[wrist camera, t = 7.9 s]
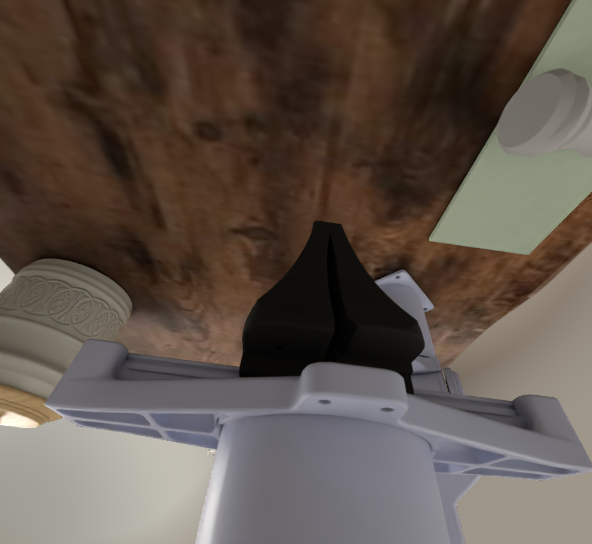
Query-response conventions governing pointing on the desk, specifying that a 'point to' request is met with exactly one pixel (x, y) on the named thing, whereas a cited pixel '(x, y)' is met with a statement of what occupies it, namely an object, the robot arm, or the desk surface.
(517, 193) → the mat
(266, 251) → the desk surface
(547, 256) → the desk surface
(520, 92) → the rook chess piece
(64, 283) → the jar
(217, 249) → the desk surface
